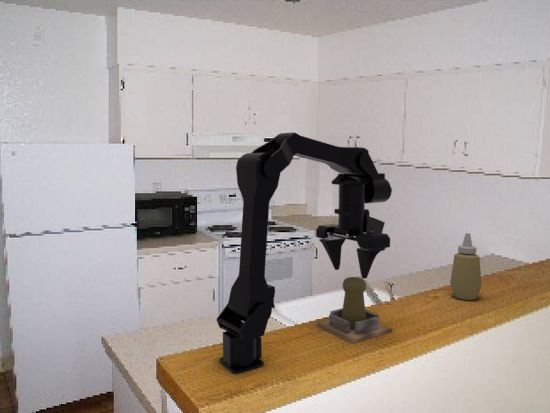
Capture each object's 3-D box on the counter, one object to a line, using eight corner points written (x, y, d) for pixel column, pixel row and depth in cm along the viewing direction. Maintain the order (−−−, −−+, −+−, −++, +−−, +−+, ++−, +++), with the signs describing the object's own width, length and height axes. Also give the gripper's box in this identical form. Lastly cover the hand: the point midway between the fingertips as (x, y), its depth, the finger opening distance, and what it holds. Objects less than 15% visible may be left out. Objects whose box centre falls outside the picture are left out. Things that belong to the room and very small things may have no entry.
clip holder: (351, 343, 97) (351, 328, 96) (316, 325, 107) (316, 312, 106) (392, 331, 103) (392, 317, 103) (355, 316, 113) (355, 303, 113)
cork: (334, 325, 105) (335, 277, 104) (351, 318, 109) (352, 273, 108) (355, 332, 100) (356, 283, 99) (372, 325, 104) (373, 278, 103)
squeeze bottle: (471, 304, 122) (474, 237, 120) (443, 297, 129) (446, 233, 127) (486, 298, 127) (489, 233, 126) (459, 291, 134) (461, 230, 132)
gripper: (409, 206, 98) (407, 278, 100) (350, 199, 114) (349, 261, 116) (371, 209, 92) (369, 285, 94) (314, 202, 108) (314, 267, 110)
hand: (350, 273), depth 103 cm, fingers open, 9 cm apart
